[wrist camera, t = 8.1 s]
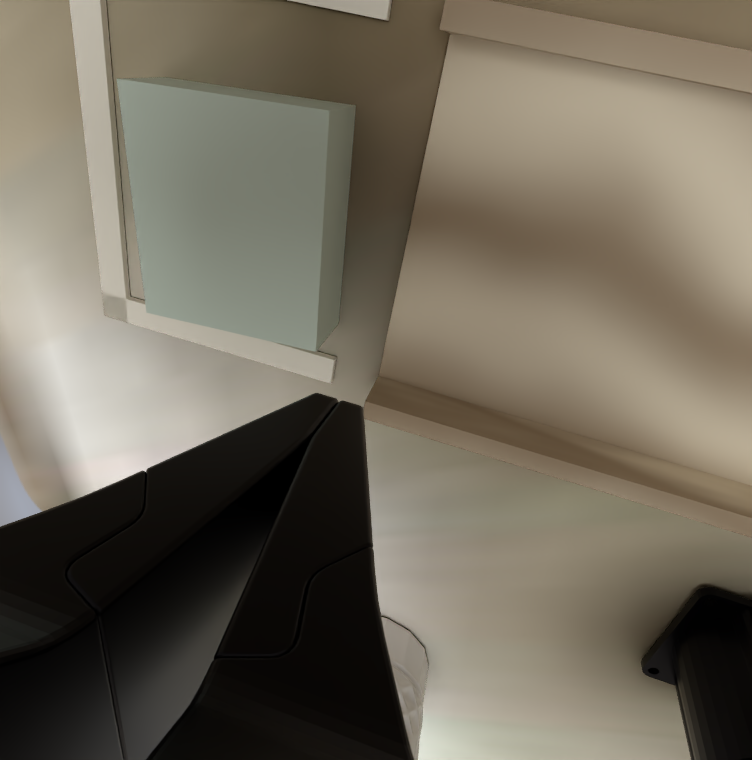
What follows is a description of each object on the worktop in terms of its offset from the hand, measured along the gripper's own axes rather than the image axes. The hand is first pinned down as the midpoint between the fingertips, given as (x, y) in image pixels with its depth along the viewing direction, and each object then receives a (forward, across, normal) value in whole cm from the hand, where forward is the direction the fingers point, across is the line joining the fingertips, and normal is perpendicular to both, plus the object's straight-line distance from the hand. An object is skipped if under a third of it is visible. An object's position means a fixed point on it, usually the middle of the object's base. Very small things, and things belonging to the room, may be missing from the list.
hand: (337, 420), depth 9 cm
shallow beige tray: (+12, -7, 0) cm, 14 cm away
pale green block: (+12, +7, +1) cm, 14 cm away
